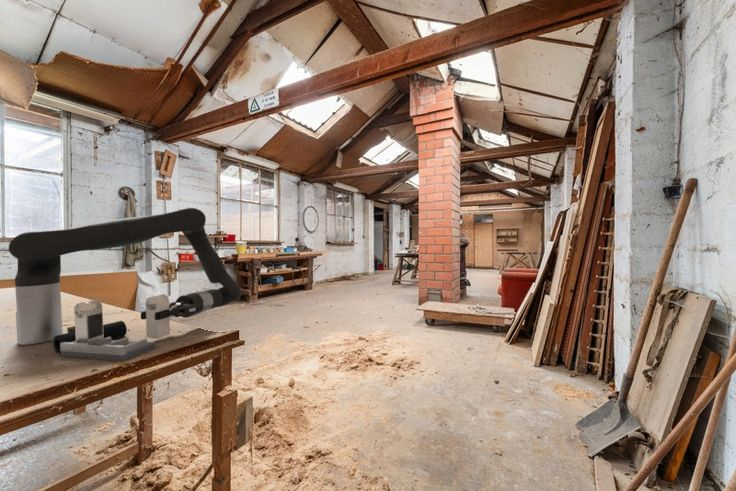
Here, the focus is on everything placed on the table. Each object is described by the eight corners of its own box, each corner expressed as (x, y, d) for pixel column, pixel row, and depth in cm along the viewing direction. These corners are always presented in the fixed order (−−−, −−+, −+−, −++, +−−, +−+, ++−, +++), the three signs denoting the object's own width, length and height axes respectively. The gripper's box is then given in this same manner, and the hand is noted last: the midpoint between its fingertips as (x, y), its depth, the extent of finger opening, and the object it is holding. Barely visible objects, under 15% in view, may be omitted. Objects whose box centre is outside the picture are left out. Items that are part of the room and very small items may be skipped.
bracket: (60, 356, 78) (58, 305, 78) (98, 344, 87) (96, 298, 86) (122, 361, 74) (119, 306, 73) (155, 347, 83) (153, 299, 82)
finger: (145, 337, 87) (144, 296, 87) (158, 333, 91) (157, 294, 91) (157, 338, 86) (156, 297, 86) (169, 334, 90) (168, 294, 90)
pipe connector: (41, 331, 84) (105, 317, 98) (42, 349, 84) (106, 333, 98) (61, 336, 80) (126, 321, 93) (62, 356, 80) (127, 338, 93)
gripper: (177, 292, 104) (128, 302, 87) (212, 293, 101) (169, 304, 84) (177, 313, 104) (129, 328, 87) (213, 315, 101) (169, 330, 84)
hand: (149, 316), depth 86 cm, fingers closed on finger, 4 cm apart
